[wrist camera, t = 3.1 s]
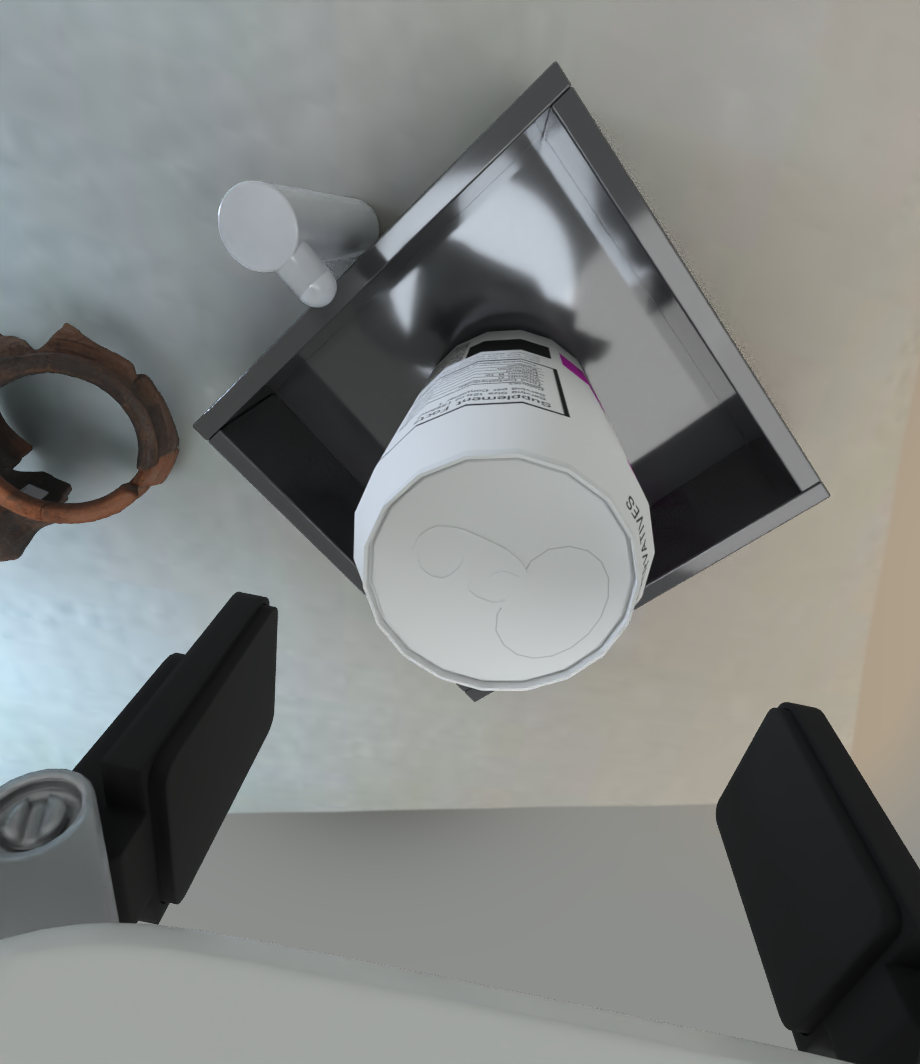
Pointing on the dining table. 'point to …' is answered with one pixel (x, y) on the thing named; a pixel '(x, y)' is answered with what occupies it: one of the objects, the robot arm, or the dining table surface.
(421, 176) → the dining table surface
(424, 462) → the supplement can
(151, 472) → the pottery mug
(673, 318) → the sink
